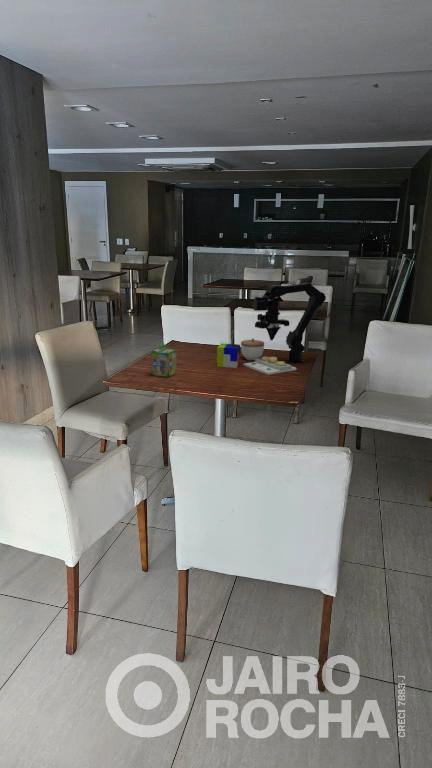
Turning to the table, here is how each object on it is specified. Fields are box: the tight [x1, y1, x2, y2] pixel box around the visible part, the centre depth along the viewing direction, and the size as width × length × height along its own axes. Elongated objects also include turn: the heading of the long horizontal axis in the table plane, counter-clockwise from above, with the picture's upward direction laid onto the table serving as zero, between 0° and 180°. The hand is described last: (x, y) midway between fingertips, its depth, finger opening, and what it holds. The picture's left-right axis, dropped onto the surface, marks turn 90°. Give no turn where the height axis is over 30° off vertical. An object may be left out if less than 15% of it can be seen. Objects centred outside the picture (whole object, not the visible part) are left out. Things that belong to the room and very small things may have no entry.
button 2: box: [277, 360, 286, 367], centre depth 246 cm, size 4×4×3 cm
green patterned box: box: [150, 342, 177, 378], centre depth 233 cm, size 9×9×15 cm
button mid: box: [268, 356, 278, 364], centre depth 251 cm, size 4×4×3 cm
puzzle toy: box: [216, 343, 241, 369], centre depth 253 cm, size 10×10×10 cm
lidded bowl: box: [240, 338, 265, 361], centre depth 267 cm, size 13×13×11 cm
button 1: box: [261, 355, 270, 361], centre depth 256 cm, size 4×4×3 cm
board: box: [243, 357, 297, 376], centre depth 250 cm, size 18×20×3 cm
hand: (271, 340), depth 257 cm, fingers closed
